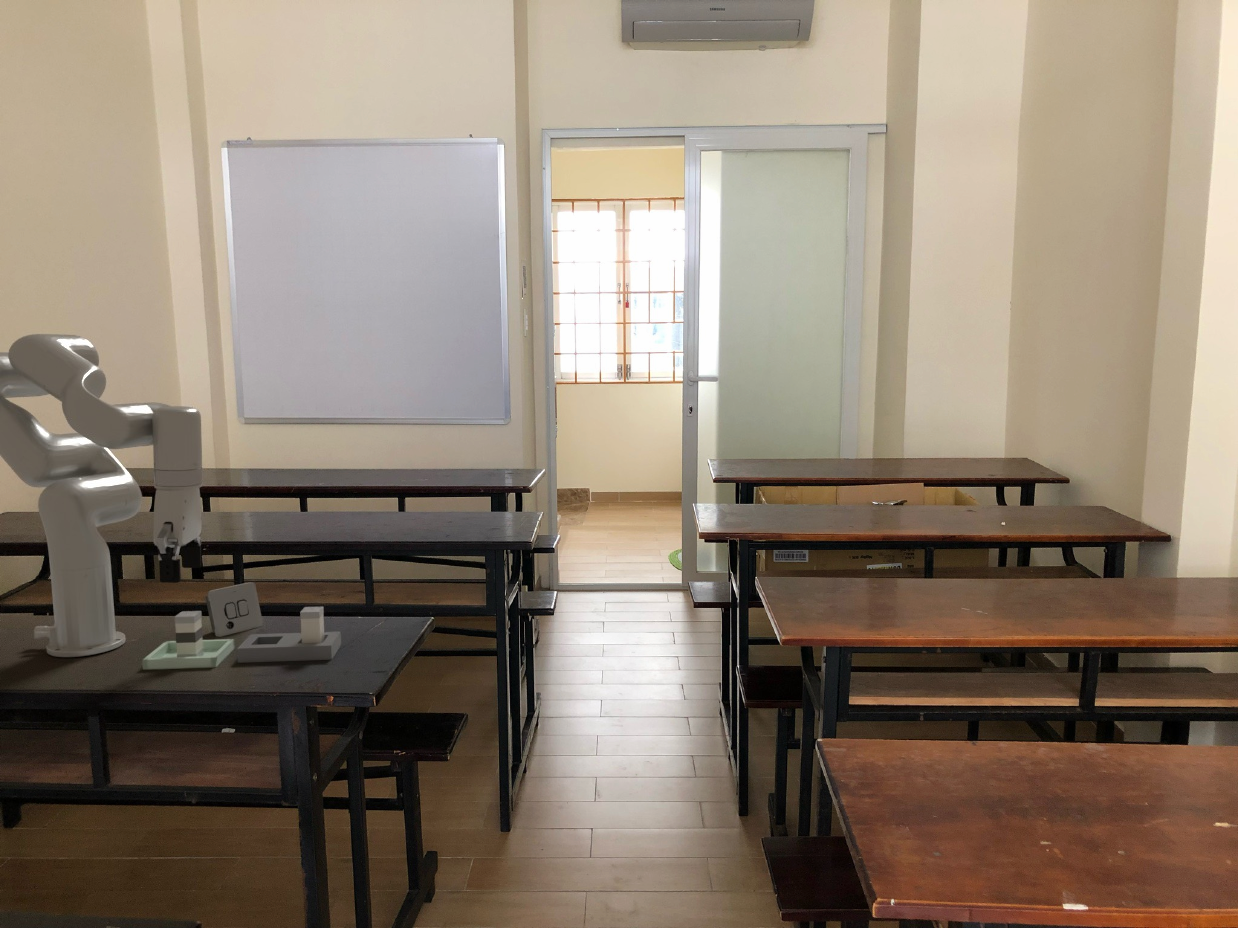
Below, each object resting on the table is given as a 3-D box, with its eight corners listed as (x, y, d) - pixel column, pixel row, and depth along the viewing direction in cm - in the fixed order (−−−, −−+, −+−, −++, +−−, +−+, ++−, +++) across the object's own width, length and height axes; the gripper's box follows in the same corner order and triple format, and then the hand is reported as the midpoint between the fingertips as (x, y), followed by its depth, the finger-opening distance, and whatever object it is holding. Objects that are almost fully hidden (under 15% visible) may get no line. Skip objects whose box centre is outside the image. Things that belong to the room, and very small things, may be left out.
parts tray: (143, 672, 153) (142, 659, 152) (166, 652, 162) (165, 641, 162) (216, 669, 154) (215, 657, 154) (234, 650, 164) (234, 638, 163)
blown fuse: (177, 661, 156) (174, 616, 155) (184, 654, 160) (182, 611, 159) (196, 660, 157) (194, 616, 156) (203, 654, 160) (201, 610, 159)
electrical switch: (218, 640, 170) (213, 591, 169) (205, 637, 173) (200, 589, 173) (264, 628, 177) (259, 582, 177) (250, 625, 180) (246, 580, 180)
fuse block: (237, 665, 156) (237, 648, 156) (251, 649, 164) (250, 634, 164) (331, 661, 158) (331, 645, 157) (341, 647, 166) (340, 631, 165)
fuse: (302, 655, 159) (300, 612, 158) (306, 649, 163) (304, 606, 162) (321, 655, 160) (319, 611, 159) (325, 649, 163) (323, 606, 162)
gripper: (175, 470, 162) (177, 562, 165) (134, 486, 145) (137, 588, 148) (218, 471, 163) (220, 562, 165) (182, 487, 146) (185, 588, 148)
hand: (181, 574), depth 156 cm, fingers open, 9 cm apart
